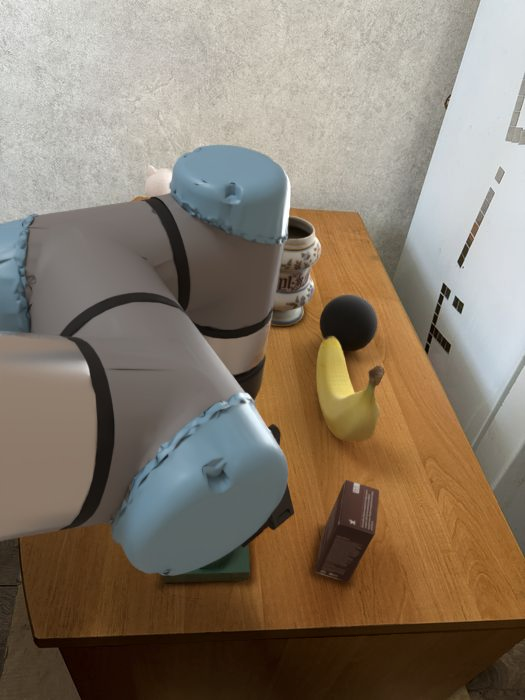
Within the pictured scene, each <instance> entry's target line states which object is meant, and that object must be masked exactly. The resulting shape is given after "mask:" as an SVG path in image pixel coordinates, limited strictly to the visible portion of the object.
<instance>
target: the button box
mask: <svg viewBox="0 0 525 700" xmlns="http://www.w3.org/2000/svg"><path fill="white" fill-rule="evenodd" d="M249 545H250V544H248V545H247V546H245V547H244V548H243V547H242V546H241V545H240V546H238V547H237V548H236V549H234V550H233V551H231V552H230V553H228V554H226V555H225V556H223V557H221V558H220V559H218V560H216V561H214V562H212V563H210V564H208V565H206V566H203V567H201V568H198V569H196V570H193V571H190V572H187V573H183V574H179V575H173V576H170V575H162V581H163V582H162V583H163V584H167V583H168V584H169V583H171V584H172V583H198V582H199V583H200V582H201V583H202V582H205V583H206V582H230V581H231V582H236V581H249V579H250V575H251V562H250V561H251V560H250V548H249V547H250V546H249Z"/></svg>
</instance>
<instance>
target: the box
mask: <svg viewBox="0 0 525 700" xmlns="http://www.w3.org/2000/svg"><path fill="white" fill-rule="evenodd" d="M379 498H380V489H377V488H375V487H371V486H370V485H369V486H368V485H365V484H362V483H359V482H355V481H351V480H348V479H345V480H344V482H343V484H342V486H341V488H340V491H339V492H338V495H337V497H336V500H335V502H334V504H333V506H332V509H331V511H330V513H329V516H328V518H327V520H326V522H325V525H324V527H323V530H322V533H321V537H320V544H319V549H318V553H317V558H316V559H317V560H316V565H315V573H317V574H319V575H320V576H326V577H329V578H330V579H331V578H332V579H335V580H339V581H342V582H346V583H349V581H350V579H351V577H352V576H353V574H354V573H355V571H356V569H357V567H358V566H359V563H360V561H361V560H362V558H363V556H364V555H365V552H366V551H367V549H368V547H369V546H370V544H371V542H372V540H373V538H374V537H375V535H376V529H377V521H378V509H379Z"/></svg>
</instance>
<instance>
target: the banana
mask: <svg viewBox="0 0 525 700" xmlns="http://www.w3.org/2000/svg"><path fill="white" fill-rule="evenodd" d="M315 372H316V374H315V376H316V377H315V379H316V391H317V398H318V403H319V407H320V409H321V413H322V416H323V419H324V422H325V424H326V426H327V429H328V430H329V431H330V432H331V434H332V435H333V436H334V437H335V438H337V439H338V440H341V441H343V442H350V443H358V442H365V441H367V440H369V439H370V438H371V437H372V436H373V435H374V433H375V431H376V427H377V424H378V421H379V417H380V405H379V404H378V402H377V399H376V395H375V391H376V387H377V386H379V385H380V383H381V381H382V379H383V377H384V375H385V372H386V371H385V368H384V366H382V365H380V364H379V365H378V364H377V365H376V366H374V367H373V368H370V369H369V370H368V371H367V372H368V381H367V382H368V383H367V385H366V387H365V388H364V389H362V390H361V391H357V392H355V390H354V387H353V384H352V381H351V377H350V375H349V371H348V368H347V363H346V358H345V354H344V351H342V348H341V345H340V343H339V341H338V340H337V339H336V337H335V336H327V337H326V338H325V339H324V338H323V340H322V342H321V344H320V346H319V349H318V352H317V358H316V371H315Z"/></svg>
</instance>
